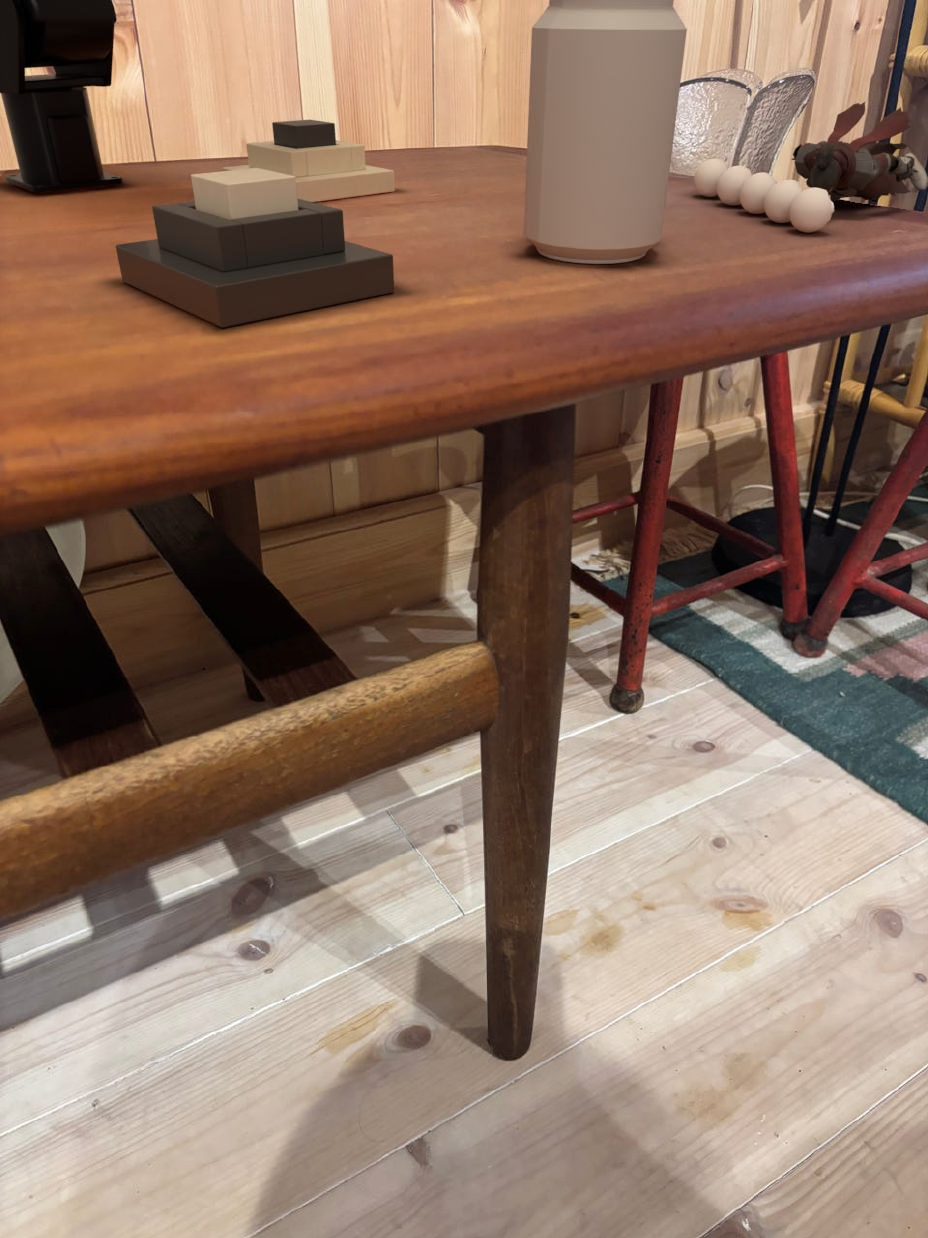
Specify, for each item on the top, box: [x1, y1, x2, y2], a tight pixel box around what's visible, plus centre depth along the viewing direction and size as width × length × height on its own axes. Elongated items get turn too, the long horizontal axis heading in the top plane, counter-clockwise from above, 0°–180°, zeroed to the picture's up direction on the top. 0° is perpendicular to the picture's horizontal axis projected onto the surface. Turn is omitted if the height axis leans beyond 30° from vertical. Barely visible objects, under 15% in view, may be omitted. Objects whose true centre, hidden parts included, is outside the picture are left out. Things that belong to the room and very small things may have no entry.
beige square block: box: [190, 168, 298, 220], centre depth 41 cm, size 3×3×2 cm
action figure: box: [790, 101, 928, 203], centre depth 60 cm, size 8×6×18 cm
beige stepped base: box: [220, 139, 396, 203], centre depth 65 cm, size 9×9×3 cm
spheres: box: [693, 158, 835, 233], centre depth 59 cm, size 15×2×2 cm, turn 14°
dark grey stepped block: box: [115, 199, 395, 329], centre depth 42 cm, size 10×9×4 cm
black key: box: [271, 119, 337, 149], centre depth 64 cm, size 3×3×2 cm
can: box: [523, 0, 688, 265], centre depth 46 cm, size 8×8×12 cm
